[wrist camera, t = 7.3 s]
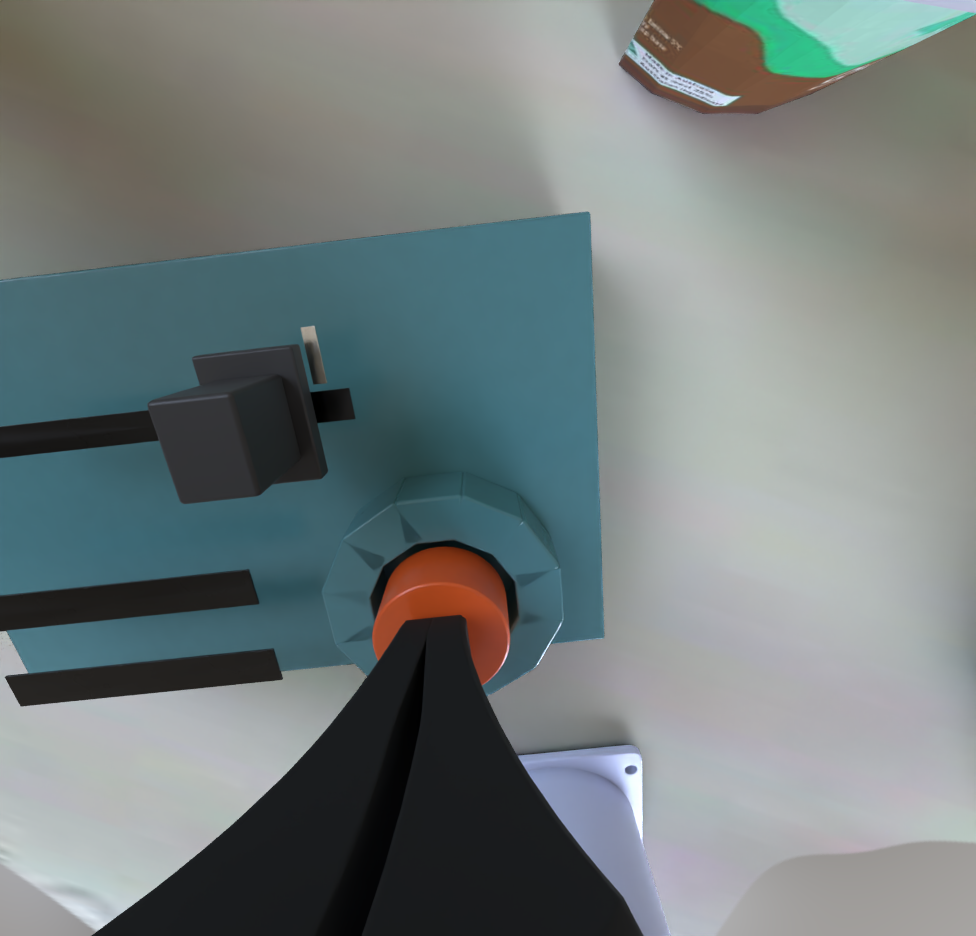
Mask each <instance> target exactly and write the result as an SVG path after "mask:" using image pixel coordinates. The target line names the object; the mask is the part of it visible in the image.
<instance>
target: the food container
mask: <svg viewBox="0 0 976 936" xmlns="http://www.w3.org/2000/svg"><path fill="white" fill-rule="evenodd" d="M974 15H976V0H654V2H653V3H652V5H651V7H650V9H649V11H648V12H647V14H646V16H645V18H644V19H643V21H642V23H641V25H640V27H639V28H638V30H637V32H636V34H635V35H634V37H633V39H632V41H631V43H630V44H629V46H628V48H627V50H626V52H625V53H624V55H623V57H622V59H621V60H620V62H619V65H620V66H621V67H622V68H623V69H625V70H626V71H627V72H628V73H629V74H630V75H632V76H633V77H634V78H635V79H636V80H637V81H638V82H640V83H641V84H642V85H643V86H644V87H645V88H647V89H648V90H649V91H650V92H651V93H653V94H655V95H658V96H660V97H663V98H665V99H668V100H670V101H673V102H675V103H678V104H680V105H683V106H685V107H688V108H690V109H693V110H695V111H698V112H700V113H703V114H758V113H761V112H763V111H766V110H769V109H772V108H774V107H777V106H780V105H782V104H785V103H788V102H791V101H793V100H796V99H799V98H801V97H804V96H807V95H810V94H812V93H814V92H816V91H818V90H820V89H822V88H825V87H827V86H829V85H831V84H833V83H835V82H837V81H839V80H841V79H843V78H845V77H847V76H849V75H851V74H854V73H856V72H858V71H860V70H862V69H864V68H866V67H868V66H870V65H872V64H874V63H876V62H878V61H880V60H883V59H885V58H887V57H889V56H891V55H893V54H895V53H897V52H899V51H901V50H903V49H905V48H907V47H909V46H912V45H914V44H916V43H918V42H920V41H922V40H924V39H926V38H928V37H930V36H932V35H934V34H936V33H938V32H941V31H943V30H945V29H947V28H949V27H951V26H953V25H955V24H957V23H959V22H961V21H963V20H965V19H967V18H970V17H972V16H974Z"/></svg>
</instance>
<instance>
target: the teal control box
mask: <svg viewBox="0 0 976 936" xmlns="http://www.w3.org/2000/svg"><path fill="white" fill-rule="evenodd" d="M309 326H315V327H316V331H317V336H318V341H319V345H320V350H321V355H322V359H323V364H324V368H325V373H326V378H327V382H328V383H325V384H316V385H313V381H312V377H311V372H310V368H309V364H308V359H307V355H306V350H305V346H304V341H303V337H302V333H301V327H309ZM291 344H298V345H299V346H300V350H301V354H302V359H303V363H304V367H305V372H306V376H307V380H308V385H309V389H310V392H314V391H323V390H332V389H341V388H350V392H351V397H352V402H353V407H354V412H355V417H356V419H352V420H343V421H334V422H325V423H317V424H318V428H319V433H320V437H321V441H322V446H323V450H324V455H325V459H326V463H327V468H328V473H327V474H326V475H325V476H324V477H323V478H322V479H318V480H309V481H300V482H290V483H281V484H272V485H271V486H270V487H269V488H268V489H267V490H266V491H264V492H263V493H262V494H261V495H259V496H256V497H247V498H238V499H228V500H219V501H210V502H201V503H191V504H182V503H181V502H180V500H179V497H178V494H177V492H176V489H175V486H174V483H173V480H172V477H171V474H170V471H169V468H168V465H167V462H166V460H165V457H164V454H163V451H162V448H161V445H160V442H159V441H153V442H144V443H134V444H125V445H116V446H107V447H98V448H89V449H80V450H71V451H62V452H53V453H44V454H35V455H26V456H16V457H7V458H0V595H8V594H17V593H27V592H36V591H46V590H55V589H65V588H74V587H84V586H93V585H103V584H112V583H122V582H131V581H140V580H150V579H159V578H169V577H178V576H188V575H197V574H207V573H216V572H226V571H235V570H245V569H249V570H250V573H251V576H252V580H253V583H254V586H255V589H256V593H257V596H258V599H259V602H260V603H259V604H258V605H248V606H239V607H229V608H219V609H210V610H200V611H191V612H181V613H172V614H162V615H152V616H143V617H133V618H124V619H114V620H105V621H95V622H85V623H76V624H66V625H57V626H47V627H38V628H28V629H18V630H9V631H7V633H8V635H9V637H10V639H11V641H12V643H13V644H14V646H15V648H16V650H17V652H18V654H19V656H20V658H21V660H22V662H23V664H24V665H25V667H26V669H27V671H28V673H38V672H47V671H57V670H67V669H76V668H86V667H96V666H106V665H115V664H125V663H135V662H144V661H154V660H164V659H173V658H183V657H193V656H203V655H212V654H222V653H232V652H241V651H251V650H261V649H271V648H274V651H275V654H276V657H277V661H278V664H279V667H280V670H281V671H290V670H300V669H309V668H319V667H329V666H339V665H348V664H356V665H357V666H358V667H359V668H360V669H361V670H362V671H363V672H364V673H365V674H366V675H367V676H368V675H369V674H370V672H371V671H372V669H373V668H374V667H375V665H376V664H377V662H378V659H377V657H376V655H375V651H374V648H373V642H372V632H373V626H374V623H375V620H376V617H377V613H378V610H379V607H380V604H381V601H382V598H383V595H384V592H385V588H386V585H387V583H388V580H389V578H390V576H391V574H392V573H393V571H394V570H395V569H396V567H397V566H398V565H399V564H400V563H401V562H403V561H404V560H405V559H406V558H408V557H409V556H411V555H413V554H415V553H417V552H419V551H422V550H425V549H428V548H434V547H445V546H446V547H456V548H461V549H465V550H468V551H471V552H473V553H475V554H477V555H479V556H480V557H482V558H483V559H485V560H486V561H487V562H488V563H490V564H491V565H492V566H493V567H494V569H495V570H496V571H497V572H498V574H499V575H500V577H501V579H502V581H503V584H504V587H505V591H506V598H507V608H508V618H509V629H510V647H509V651H508V655H507V657H506V659H505V662H504V663H503V665H502V667H501V668H500V670H499V671H498V672H497V673H496V674H495V676H494V677H492V678H491V679H490V680H489V681H488V682H486V683H485V684H483V685H482V687H483V689H484V692H485V694H486V696H488V695H490V694H492V693H494V692H496V691H497V690H499V689H501V688H503V687H504V686H506V685H508V684H509V683H511V682H513V681H514V680H516V679H518V678H519V677H521V676H523V675H524V674H526V673H528V672H530V671H531V670H533V669H534V668H535V667H536V666H537V665H538V664H539V662H540V661H541V659H542V657H543V655H544V654H545V652H546V650H547V649H548V647H549V645H550V644H554V643H564V642H573V641H583V640H593V639H603V638H604V608H603V578H602V549H601V519H600V489H599V459H598V429H597V399H596V370H595V340H594V310H593V280H592V250H591V220H590V213H589V212H579V213H571V214H562V215H554V216H545V217H536V218H528V219H519V220H511V221H502V222H493V223H485V224H476V225H467V226H459V227H450V228H442V229H433V230H424V231H416V232H407V233H398V234H390V235H381V236H373V237H364V238H355V239H347V240H338V241H330V242H321V243H312V244H304V245H295V246H286V247H278V248H269V249H261V250H252V251H243V252H235V253H226V254H218V255H209V256H200V257H192V258H183V259H174V260H166V261H157V262H149V263H140V264H131V265H123V266H114V267H106V268H97V269H88V270H80V271H71V272H62V273H54V274H45V275H37V276H28V277H19V278H11V279H2V280H0V426H8V425H17V424H26V423H35V422H44V421H53V420H62V419H71V418H80V417H89V416H98V415H107V414H116V413H125V412H134V411H143V410H148V407H147V403H148V402H150V401H151V400H154V399H157V398H160V397H164V396H167V395H170V394H174V393H177V392H180V391H183V390H187V389H190V388H193V387H197V386H200V385H199V381H198V378H197V375H196V371H195V368H194V365H193V362H192V357H194V356H198V355H203V354H211V353H220V352H229V351H238V350H247V349H255V348H264V347H273V346H282V345H291Z"/></svg>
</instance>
